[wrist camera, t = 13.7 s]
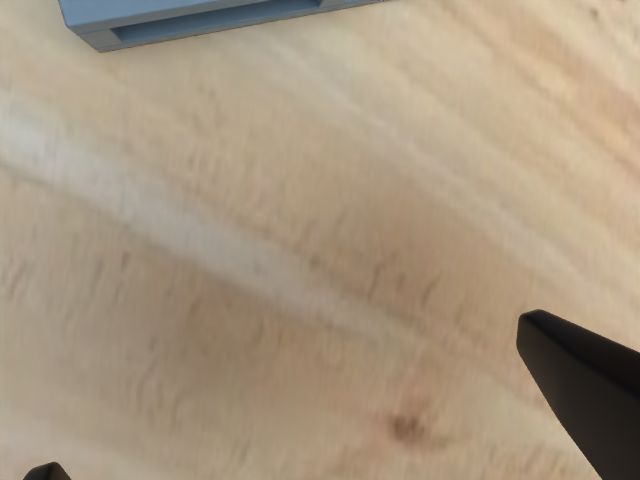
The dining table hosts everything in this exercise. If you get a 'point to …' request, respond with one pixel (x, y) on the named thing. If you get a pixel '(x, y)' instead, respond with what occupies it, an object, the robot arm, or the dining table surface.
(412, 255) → the dining table surface
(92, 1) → the riser
